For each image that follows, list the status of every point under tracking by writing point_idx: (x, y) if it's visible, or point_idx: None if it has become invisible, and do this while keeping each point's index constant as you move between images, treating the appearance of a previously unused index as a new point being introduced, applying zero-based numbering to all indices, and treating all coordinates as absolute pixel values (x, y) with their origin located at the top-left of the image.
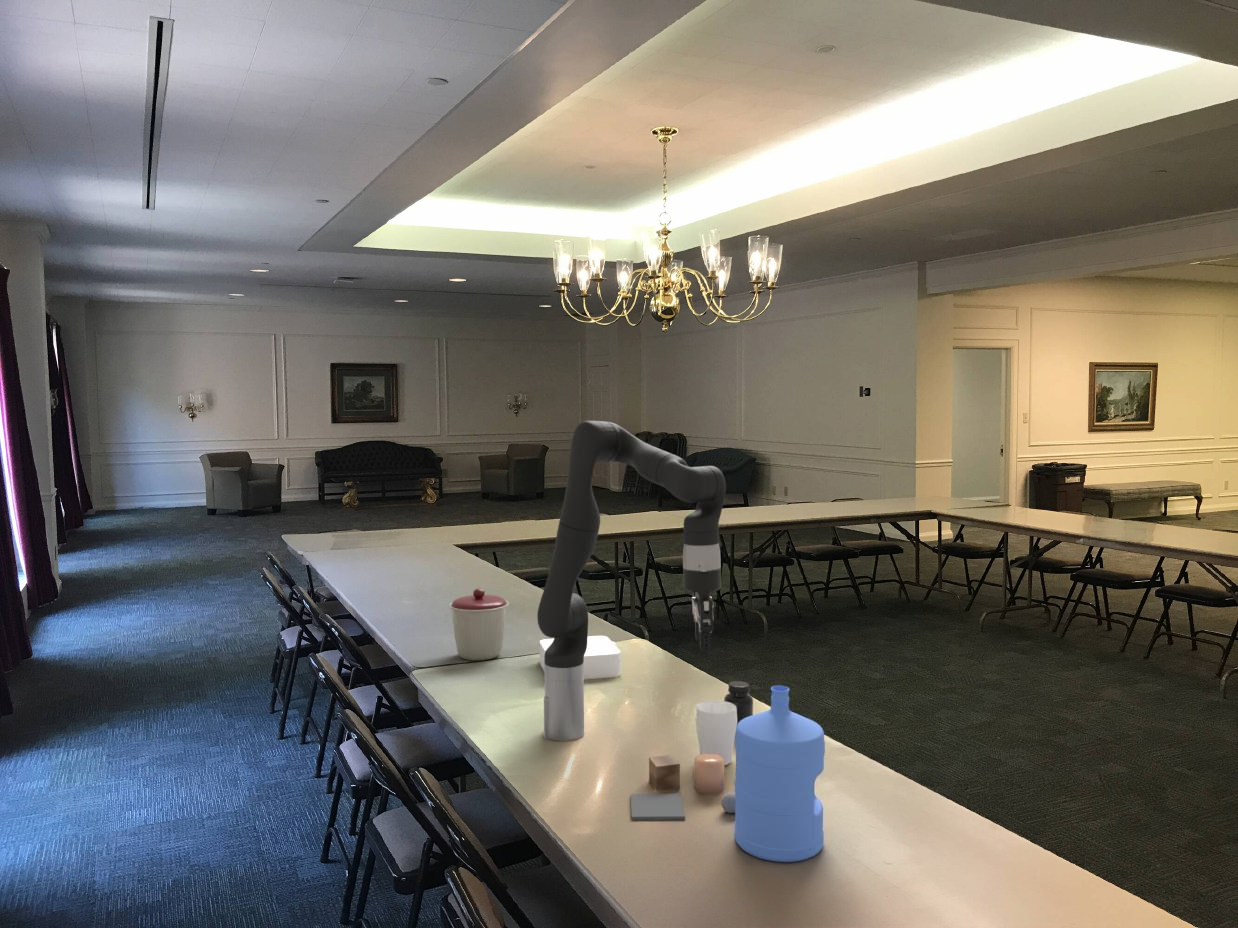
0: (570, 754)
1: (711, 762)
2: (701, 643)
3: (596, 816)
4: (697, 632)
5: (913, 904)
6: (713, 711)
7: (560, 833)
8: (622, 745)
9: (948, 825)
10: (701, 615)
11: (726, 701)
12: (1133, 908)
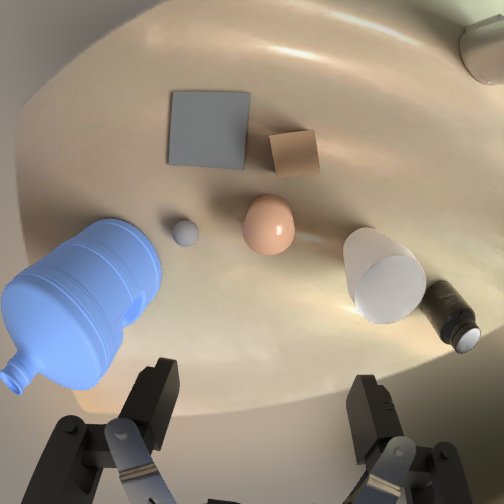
0: (416, 39)
1: (254, 231)
2: (150, 382)
3: (189, 46)
4: (364, 404)
5: None
6: (417, 282)
7: (150, 12)
8: (442, 123)
9: None
10: (33, 481)
11: (459, 309)
12: (88, 410)
